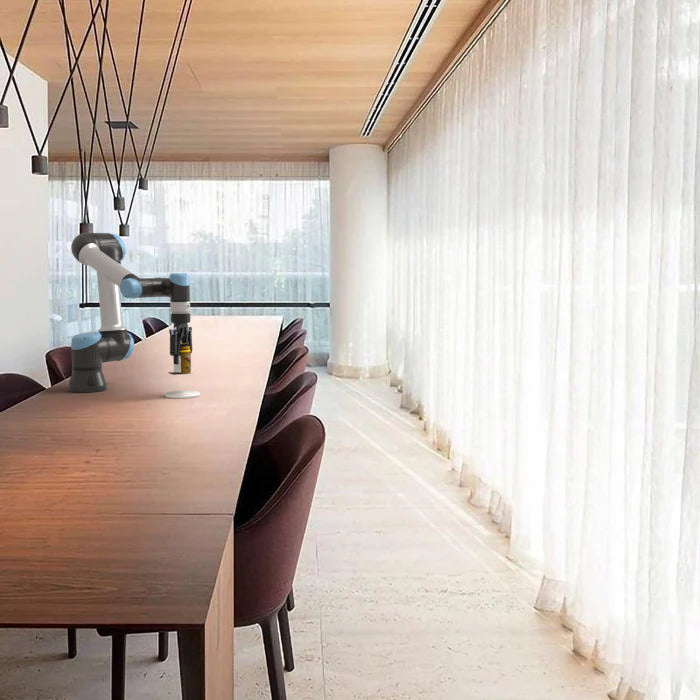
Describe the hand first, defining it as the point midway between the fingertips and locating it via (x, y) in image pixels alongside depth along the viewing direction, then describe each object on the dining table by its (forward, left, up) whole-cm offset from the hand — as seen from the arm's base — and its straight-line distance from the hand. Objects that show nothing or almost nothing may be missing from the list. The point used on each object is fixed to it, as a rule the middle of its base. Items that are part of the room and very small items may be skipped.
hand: (181, 371), depth 309 cm
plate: (0, 0, -10) cm, 10 cm away
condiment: (0, -1, -1) cm, 1 cm away
